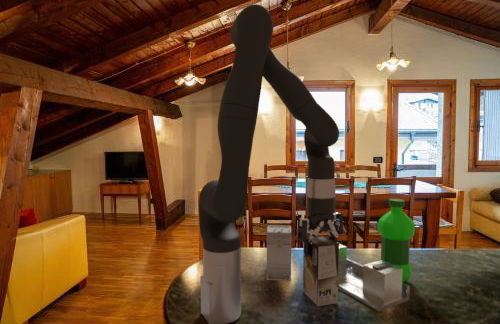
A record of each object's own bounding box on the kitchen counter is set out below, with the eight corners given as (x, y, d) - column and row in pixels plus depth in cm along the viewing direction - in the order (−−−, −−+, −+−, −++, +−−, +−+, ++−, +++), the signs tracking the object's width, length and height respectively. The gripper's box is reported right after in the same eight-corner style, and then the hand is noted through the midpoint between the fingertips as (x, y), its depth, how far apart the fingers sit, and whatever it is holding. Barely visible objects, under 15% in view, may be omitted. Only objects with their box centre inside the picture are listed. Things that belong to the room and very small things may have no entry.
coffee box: (339, 303, 86) (340, 244, 85) (317, 307, 84) (318, 246, 83) (321, 288, 95) (322, 234, 94) (301, 291, 93) (302, 236, 92)
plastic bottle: (414, 278, 101) (417, 199, 100) (409, 291, 93) (412, 205, 91) (380, 270, 107) (383, 195, 105) (372, 282, 98) (375, 201, 96)
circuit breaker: (290, 263, 114) (290, 220, 113) (291, 280, 100) (291, 232, 98) (268, 262, 114) (268, 220, 113) (266, 279, 100) (266, 232, 99)
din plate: (378, 311, 82) (379, 274, 81) (307, 271, 107) (308, 242, 106) (409, 300, 88) (410, 265, 87) (335, 264, 112) (335, 237, 112)
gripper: (331, 189, 94) (330, 244, 96) (291, 195, 87) (291, 253, 89) (350, 194, 88) (349, 252, 89) (309, 199, 81) (309, 263, 82)
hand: (320, 253), depth 89 cm, fingers open, 8 cm apart
